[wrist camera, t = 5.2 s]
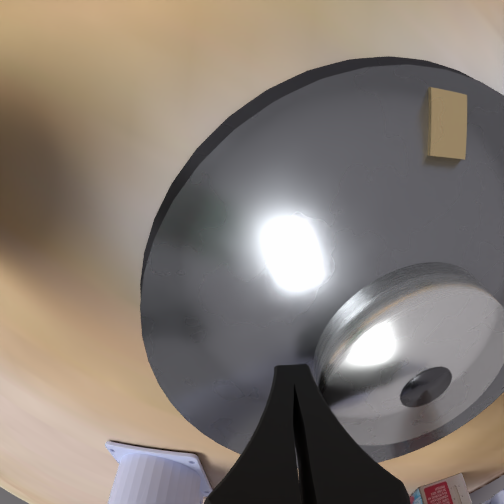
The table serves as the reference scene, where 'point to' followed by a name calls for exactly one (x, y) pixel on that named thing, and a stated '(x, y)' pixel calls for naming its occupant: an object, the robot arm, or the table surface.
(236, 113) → the turntable base
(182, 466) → the robot arm
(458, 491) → the juice carton
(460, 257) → the turntable
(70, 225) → the table surface
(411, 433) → the cover
